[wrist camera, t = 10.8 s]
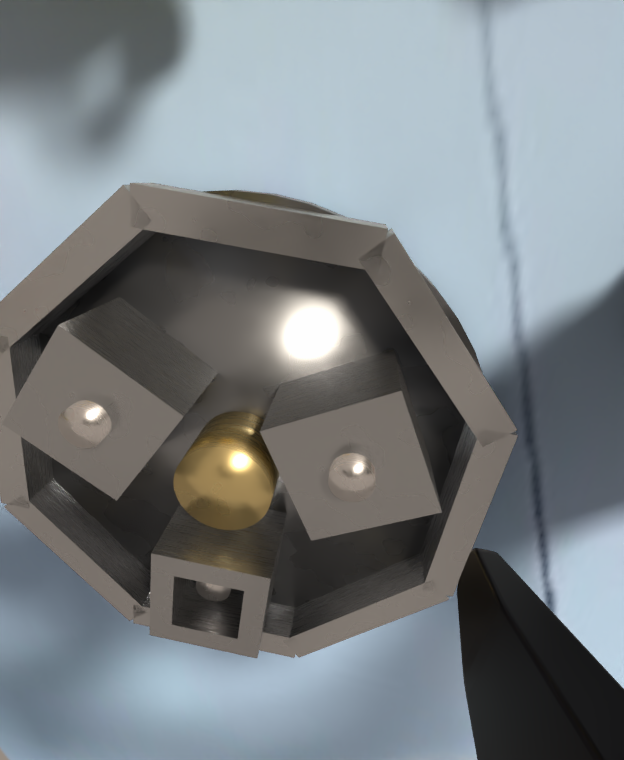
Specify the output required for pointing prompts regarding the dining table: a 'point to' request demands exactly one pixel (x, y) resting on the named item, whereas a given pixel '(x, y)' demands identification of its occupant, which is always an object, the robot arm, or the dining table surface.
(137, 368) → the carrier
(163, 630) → the square pipe segment
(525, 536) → the dining table surface
